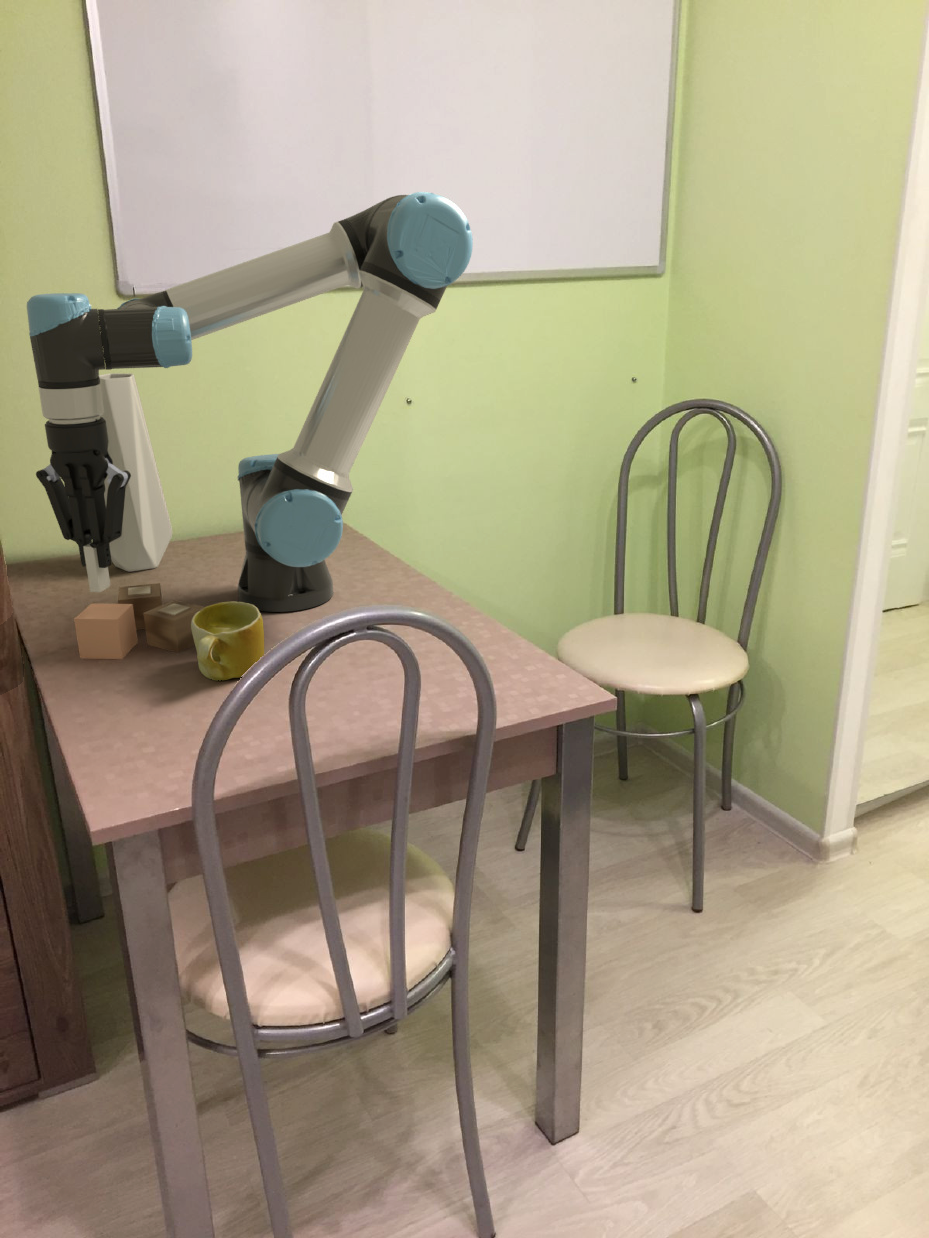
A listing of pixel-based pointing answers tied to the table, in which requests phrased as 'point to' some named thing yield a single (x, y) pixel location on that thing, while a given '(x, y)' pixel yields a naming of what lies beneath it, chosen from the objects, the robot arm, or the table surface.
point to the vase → (134, 477)
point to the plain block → (106, 631)
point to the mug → (227, 639)
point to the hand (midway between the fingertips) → (100, 588)
